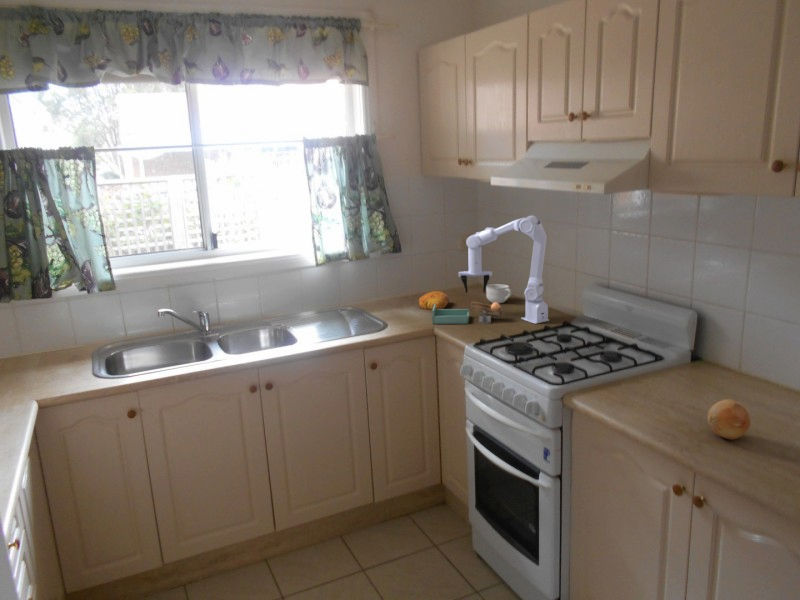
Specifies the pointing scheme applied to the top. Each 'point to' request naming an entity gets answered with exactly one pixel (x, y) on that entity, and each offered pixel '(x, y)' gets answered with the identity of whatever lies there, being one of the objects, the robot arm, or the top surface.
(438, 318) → the tray
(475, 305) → the chute
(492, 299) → the teacup
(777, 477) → the top surface
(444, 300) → the croissant
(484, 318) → the launcher stand
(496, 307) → the ball
